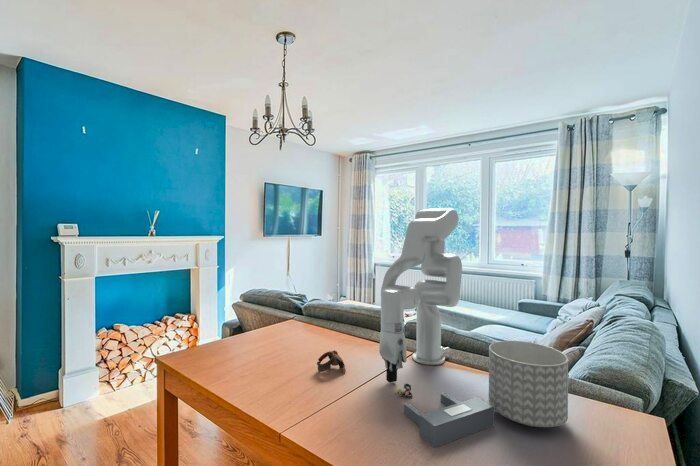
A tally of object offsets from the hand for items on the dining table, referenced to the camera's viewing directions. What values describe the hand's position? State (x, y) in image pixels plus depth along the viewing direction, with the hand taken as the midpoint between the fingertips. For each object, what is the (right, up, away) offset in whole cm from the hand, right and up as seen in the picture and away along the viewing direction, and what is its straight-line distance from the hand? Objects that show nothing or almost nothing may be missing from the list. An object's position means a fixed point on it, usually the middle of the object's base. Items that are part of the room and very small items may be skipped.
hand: (391, 380), depth 112 cm
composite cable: (+4, -1, -7) cm, 8 cm away
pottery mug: (-20, -1, +9) cm, 23 cm away
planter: (+34, -1, -21) cm, 40 cm away
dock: (+11, -1, -22) cm, 25 cm away
